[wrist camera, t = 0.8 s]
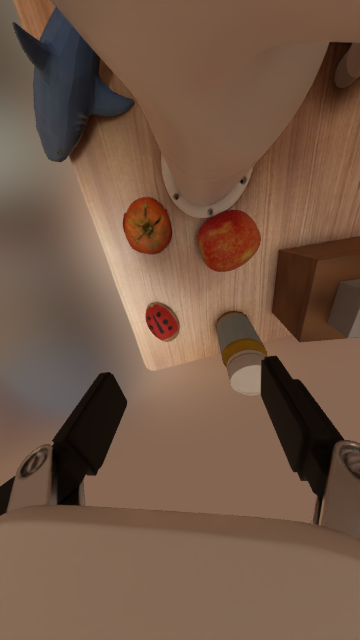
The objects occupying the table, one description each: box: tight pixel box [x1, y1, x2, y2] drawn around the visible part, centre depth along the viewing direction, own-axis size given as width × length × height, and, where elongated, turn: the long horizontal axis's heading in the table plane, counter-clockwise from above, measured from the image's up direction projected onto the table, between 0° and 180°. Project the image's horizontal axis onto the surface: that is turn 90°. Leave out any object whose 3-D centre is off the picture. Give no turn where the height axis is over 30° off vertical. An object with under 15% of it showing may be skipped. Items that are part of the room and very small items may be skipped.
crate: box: [272, 236, 360, 342], centre depth 24 cm, size 12×12×10 cm
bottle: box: [216, 312, 267, 395], centre depth 28 cm, size 7×7×15 cm
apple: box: [197, 210, 261, 272], centre depth 24 cm, size 8×8×8 cm
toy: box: [13, 7, 134, 162], centre depth 16 cm, size 10×22×10 cm, turn 134°
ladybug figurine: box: [146, 303, 179, 342], centre depth 34 cm, size 7×10×4 cm
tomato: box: [123, 197, 172, 254], centre depth 26 cm, size 8×7×7 cm
